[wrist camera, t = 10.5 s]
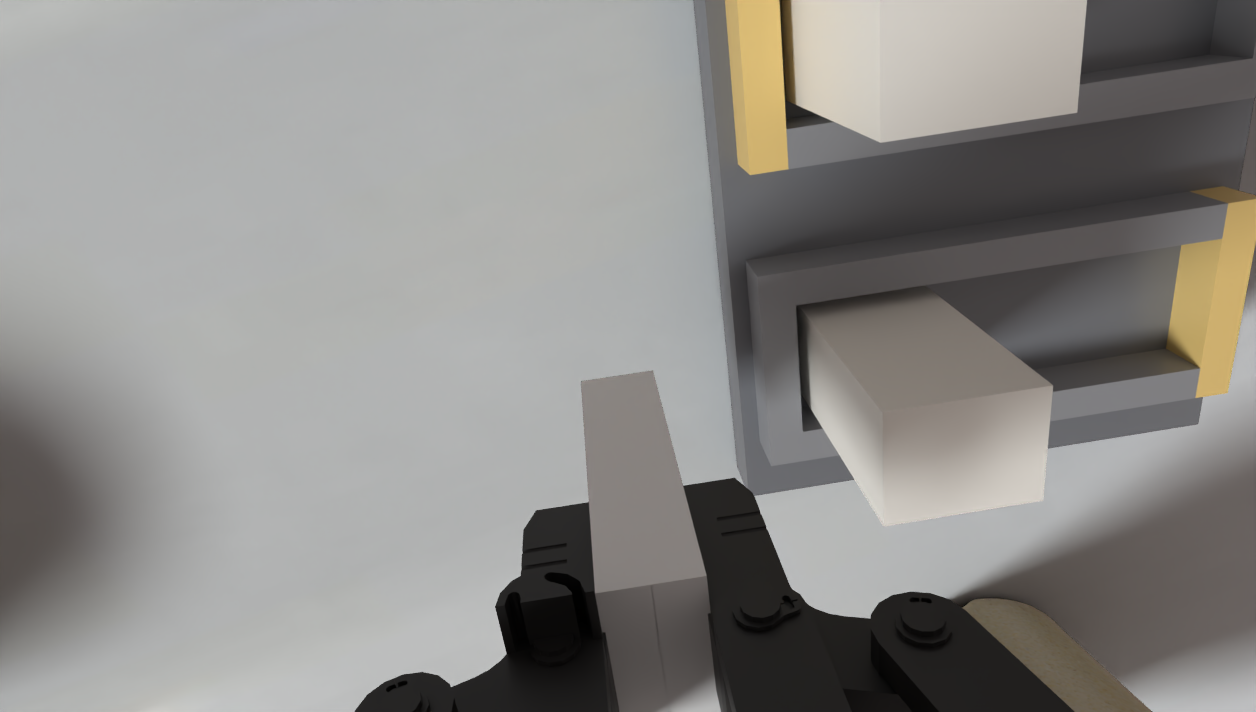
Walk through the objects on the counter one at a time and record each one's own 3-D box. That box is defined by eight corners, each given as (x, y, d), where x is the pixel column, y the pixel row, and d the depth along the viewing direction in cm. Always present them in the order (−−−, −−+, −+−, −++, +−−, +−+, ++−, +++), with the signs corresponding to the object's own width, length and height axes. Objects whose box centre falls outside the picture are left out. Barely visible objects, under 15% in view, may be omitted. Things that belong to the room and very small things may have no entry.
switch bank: (632, -650, 14) (649, -792, 11) (1329, -743, 14) (1495, -902, 11) (737, 466, 23) (759, 523, 20) (1160, 398, 23) (1232, 446, 20)
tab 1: (779, -25, 16) (879, -34, 11) (927, -47, 16) (1093, -66, 11) (785, 100, 17) (880, 142, 12) (925, 78, 17) (1077, 112, 12)
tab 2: (796, 303, 19) (883, 412, 14) (922, 283, 19) (1053, 385, 14) (801, 394, 20) (883, 526, 15) (921, 375, 20) (1043, 500, 15)
